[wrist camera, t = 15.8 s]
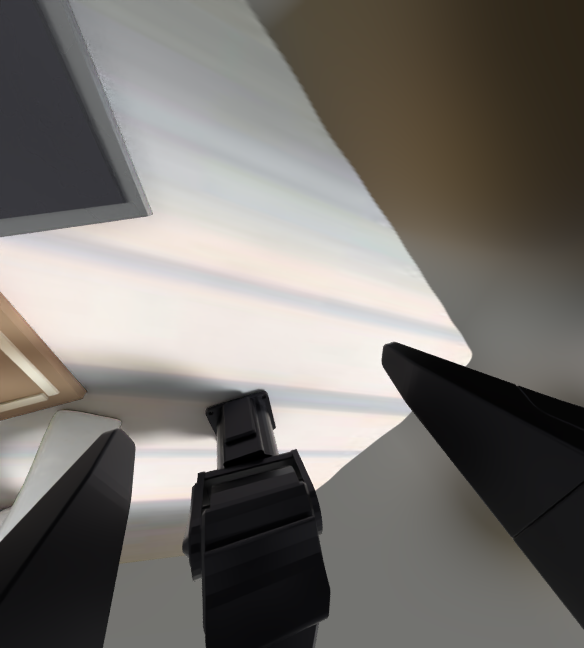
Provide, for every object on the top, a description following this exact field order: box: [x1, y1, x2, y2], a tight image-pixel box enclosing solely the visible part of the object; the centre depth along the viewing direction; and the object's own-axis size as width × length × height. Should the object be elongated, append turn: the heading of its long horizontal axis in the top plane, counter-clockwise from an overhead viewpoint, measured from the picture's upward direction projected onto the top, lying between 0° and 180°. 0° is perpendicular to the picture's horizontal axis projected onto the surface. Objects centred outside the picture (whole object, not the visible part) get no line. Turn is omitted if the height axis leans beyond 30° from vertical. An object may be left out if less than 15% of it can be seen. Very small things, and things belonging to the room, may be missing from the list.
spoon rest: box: [0, 410, 122, 541], centre depth 20 cm, size 24×12×7 cm, turn 142°
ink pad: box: [0, 0, 153, 237], centre depth 10 cm, size 10×8×2 cm
